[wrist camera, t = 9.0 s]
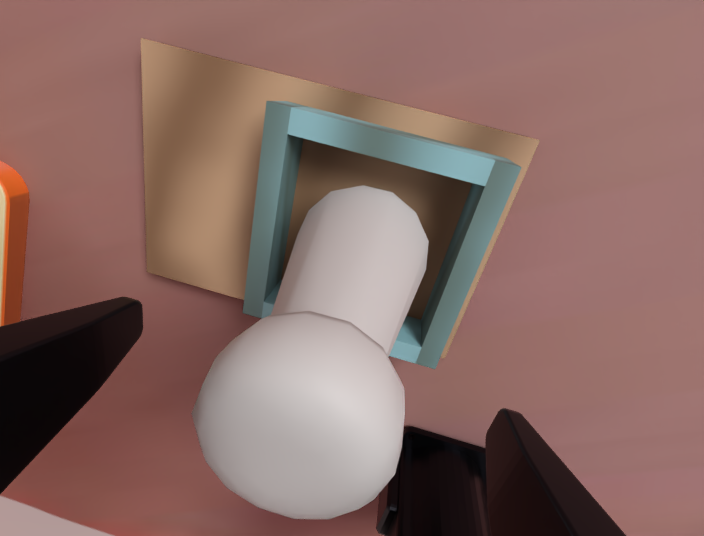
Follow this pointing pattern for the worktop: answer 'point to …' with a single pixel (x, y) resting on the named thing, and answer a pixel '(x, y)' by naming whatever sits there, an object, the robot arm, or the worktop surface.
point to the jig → (311, 182)
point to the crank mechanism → (12, 242)
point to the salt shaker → (320, 365)
